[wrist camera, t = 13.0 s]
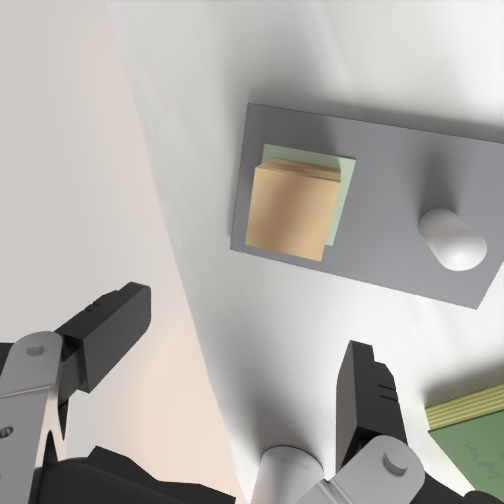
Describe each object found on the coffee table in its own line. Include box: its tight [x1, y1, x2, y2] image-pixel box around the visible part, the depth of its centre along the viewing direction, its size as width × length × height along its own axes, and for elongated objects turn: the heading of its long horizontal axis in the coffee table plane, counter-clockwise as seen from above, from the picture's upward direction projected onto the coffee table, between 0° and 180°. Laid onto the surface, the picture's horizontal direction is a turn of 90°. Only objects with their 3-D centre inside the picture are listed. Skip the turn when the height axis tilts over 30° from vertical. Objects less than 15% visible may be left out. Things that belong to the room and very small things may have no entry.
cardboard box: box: [245, 157, 341, 262], centre depth 26 cm, size 6×6×6 cm
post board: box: [230, 103, 504, 310], centre depth 26 cm, size 14×24×8 cm, turn 82°
